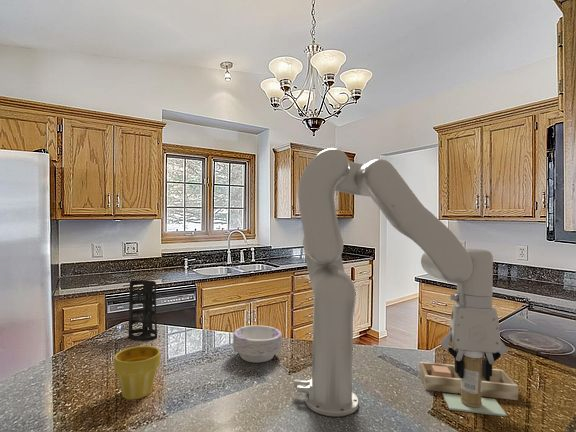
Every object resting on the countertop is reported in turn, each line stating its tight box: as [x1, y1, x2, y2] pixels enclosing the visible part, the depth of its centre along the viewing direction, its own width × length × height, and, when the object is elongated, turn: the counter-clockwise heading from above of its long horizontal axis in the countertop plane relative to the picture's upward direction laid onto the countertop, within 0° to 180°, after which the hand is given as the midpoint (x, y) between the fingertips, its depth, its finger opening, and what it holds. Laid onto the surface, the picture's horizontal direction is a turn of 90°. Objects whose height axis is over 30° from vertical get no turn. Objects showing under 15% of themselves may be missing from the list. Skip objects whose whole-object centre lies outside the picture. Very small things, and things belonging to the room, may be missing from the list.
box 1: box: [418, 361, 461, 395], centre depth 93 cm, size 10×10×4 cm
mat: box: [442, 392, 508, 417], centre depth 83 cm, size 12×7×1 cm, turn 78°
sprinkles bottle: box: [460, 351, 484, 408], centre depth 83 cm, size 5×5×13 cm
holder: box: [128, 279, 158, 341], centre depth 125 cm, size 11×8×20 cm
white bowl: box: [232, 324, 283, 364], centre depth 109 cm, size 15×15×8 cm
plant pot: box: [113, 345, 161, 401], centre depth 85 cm, size 10×10×10 cm
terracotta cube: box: [431, 365, 451, 378], centre depth 93 cm, size 4×4×4 cm
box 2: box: [481, 368, 519, 401], centre depth 91 cm, size 10×10×4 cm
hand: (472, 376), depth 83 cm, fingers open, 5 cm apart
